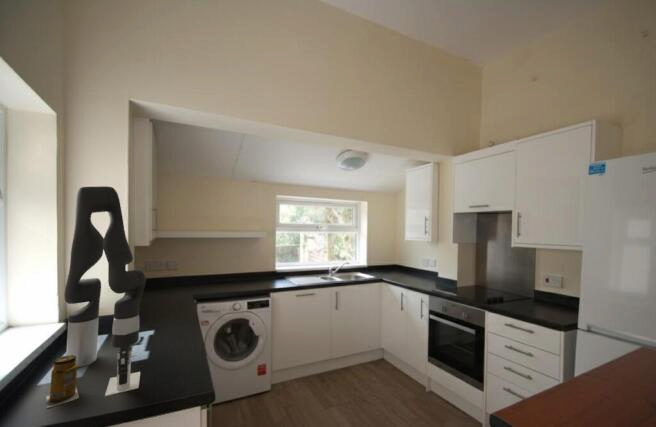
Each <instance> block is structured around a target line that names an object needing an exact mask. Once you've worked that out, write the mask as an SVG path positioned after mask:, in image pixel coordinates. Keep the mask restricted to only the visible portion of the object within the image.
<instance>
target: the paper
mask: <svg viewBox="0 0 656 427" xmlns="http://www.w3.org/2000/svg"><path fill="white" fill-rule="evenodd" d="M140 377H141V371H137V372H132V373H131V372H130V387H129V388H127V389H125V390H122V391H117V376H114V377H110V378H109V381H108V384H107V388H106V390H105V393H104V394H105V395H104V397H109V396H111V395H116V394H119V393H124V392H127V391H132V390H136V389H139V388H140V387H139V386H140Z"/></svg>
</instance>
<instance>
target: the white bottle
mask: <svg viewBox="0 0 656 427" xmlns="http://www.w3.org/2000/svg"><path fill="white" fill-rule="evenodd" d="M128 358H129V354H128ZM131 359H132V357H131V358H130V364H129V365H128V369H129V370H128V375H127V383H126V384H123V385H119V375H118V369H117V374H116V377H117V391H122V390H125V389H127V388H129V387H130V374H131V365H132V364H131V363H132V360H131ZM122 369H126V368H122Z"/></svg>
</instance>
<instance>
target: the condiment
mask: <svg viewBox="0 0 656 427" xmlns="http://www.w3.org/2000/svg"><path fill="white" fill-rule="evenodd" d="M77 371H78V368H77V364H76V356H74V355H68V356H66V355H63V356H61V357H58V358H56V359H55V360H54V361H53V369H52V370H51V372H50V373H51V374H50V390H49V394H48V395H46V396H45V402H46V404H45V406H46V409H48V408H52V407H56V406H59V405H62V404H65V403H68V402H71V401H75V400H77V399H79V398H80V396H79V392H78V388H77V378H78V377H77V373H78V372H77Z"/></svg>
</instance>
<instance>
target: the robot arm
mask: <svg viewBox="0 0 656 427" xmlns="http://www.w3.org/2000/svg"><path fill="white" fill-rule="evenodd" d="M121 206H122V205H121V200H120V197H119V194H118V192H117V190H116V189H115V188H114V187H112V186H105V185H104V186H102V185H101V186H98V185H97V186H82V187H79V188H78V190H77V192H76V195H75V209H74V210H75V215H74V216H75V218H74V222H75V223H74V232H73V236H72V243H71V250H70V262H69V263H70V264H69V269H68V270H69V271H68V276H67V279H66V284H65V289H64V301H65V302H66V303H67V305H68V304H69V305H73V304H74V305H75V304H76V305H77V304H82V303H87V304H86V305H85V306H83V307H81V308H79V309H77V310H74V311H73V312H70V314H69V315H68V319H67V337H66V355H65V356H68V355H74V356H76V364H77V369H78V368H82V367H85V366H88V365H91V364H93V363H94V362H96V361H97V358H98V356H97V355H98V338H99V337H98V335H99V316H100V315H99V313H100V303H101V302H100V301H101V293H102V292H101V291H102V281H101V280H100V278H98V277H97V278H96V277H95V278H94V277H93V278H84V279H82V277H83V276H84V275H85V274H86V273H87V272H89V270H91V268H93V267H94V266H95V265H96V264H97V263H98V262H99V261H100V260H101V258H102V257H103V254H104V255H105V258H106V260H107V264H108V269H107V271H108V273H107V274H108V275H107V276H108V280H107V281H108V287H109V289H110V290H111V291H112V292H113V293H115V294H118V295H119V294H123V297H121V298H120V299H118V300H116V301H115V303H114V307H113V321H112V325H111V326H112V327H111V328H112V330H111V347H113V348H115V349H116V348H118V350H117V351H116V352H117V354H116V357H117V364H116V365H117V370H118V375H119V385H123V384H126V383H127V375H128V370H129V369H128V365H129V364H130V358H131V359H132V352H133V345H135V344H137V343H138V342H139V340H140V336H139V335H140V303H141V299H142V296H143V293H144V290H145V287H146V282H147V279H146V275H145V273H144V272H143V271H142V270H141V269H132V270H126V269H127V268H126V267H127V265H129V264H130V263H132V262H133V260H134V256H133V254H132V250H131V247H130V245H129V242H128V239H127V236H126V231H125V224H124V218H123V212H122V207H121ZM95 213H108V216H109V224H108V228H107V230H106V232H105V235H104V237H103V235H102V233H100V231H99V230H98V229H97V228H96V227H95V226H94V225H93V223H92V220H91V219H92V214H95ZM128 354H129V358H128ZM122 368H126V369H122Z"/></svg>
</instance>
